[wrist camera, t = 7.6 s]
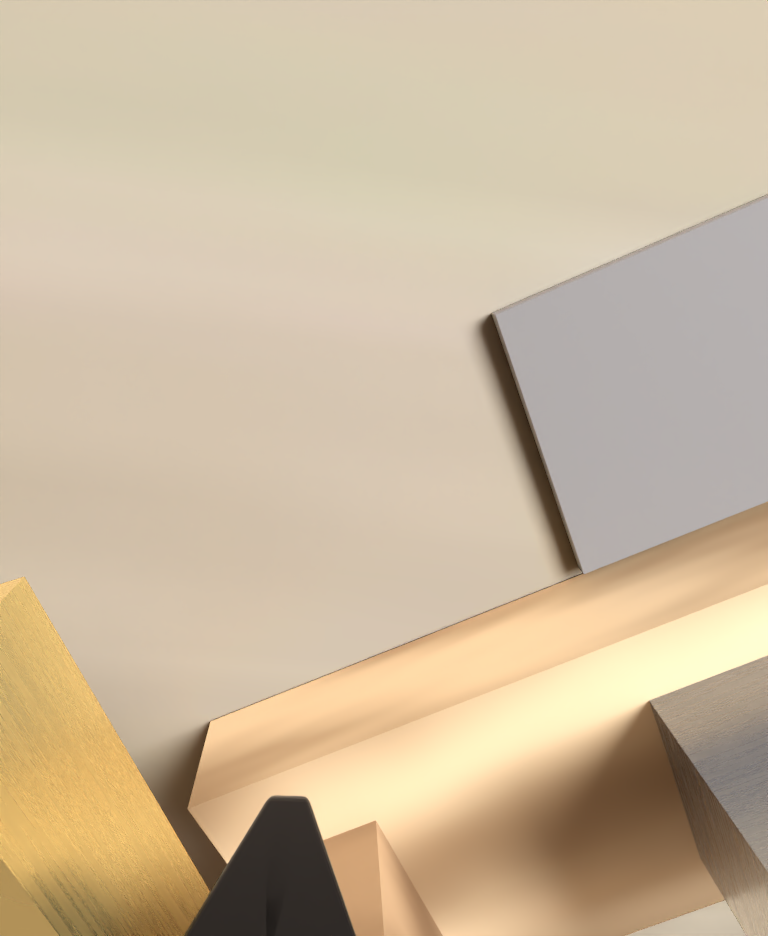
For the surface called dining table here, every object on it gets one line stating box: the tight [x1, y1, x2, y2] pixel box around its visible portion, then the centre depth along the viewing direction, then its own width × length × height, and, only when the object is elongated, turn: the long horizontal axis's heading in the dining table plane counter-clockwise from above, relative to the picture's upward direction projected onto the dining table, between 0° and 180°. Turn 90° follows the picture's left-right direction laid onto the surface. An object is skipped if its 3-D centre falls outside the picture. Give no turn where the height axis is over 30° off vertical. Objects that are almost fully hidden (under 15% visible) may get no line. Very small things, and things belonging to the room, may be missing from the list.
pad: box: [491, 194, 768, 574], centre depth 16 cm, size 8×9×1 cm
